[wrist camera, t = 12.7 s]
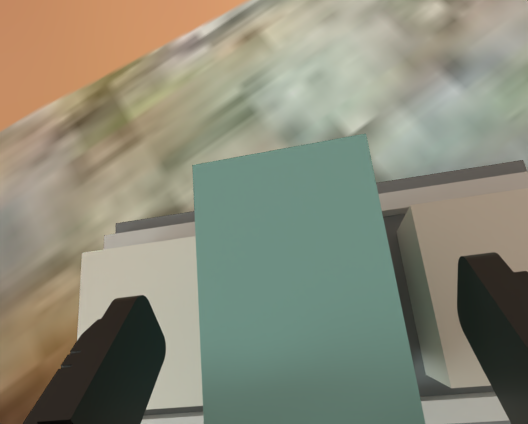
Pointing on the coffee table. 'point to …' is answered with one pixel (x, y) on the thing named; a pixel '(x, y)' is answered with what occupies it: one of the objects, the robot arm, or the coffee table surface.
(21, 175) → the coffee table surface
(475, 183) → the rail board
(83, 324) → the mounted blocks
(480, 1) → the coffee table surface
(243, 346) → the block
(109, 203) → the coffee table surface
